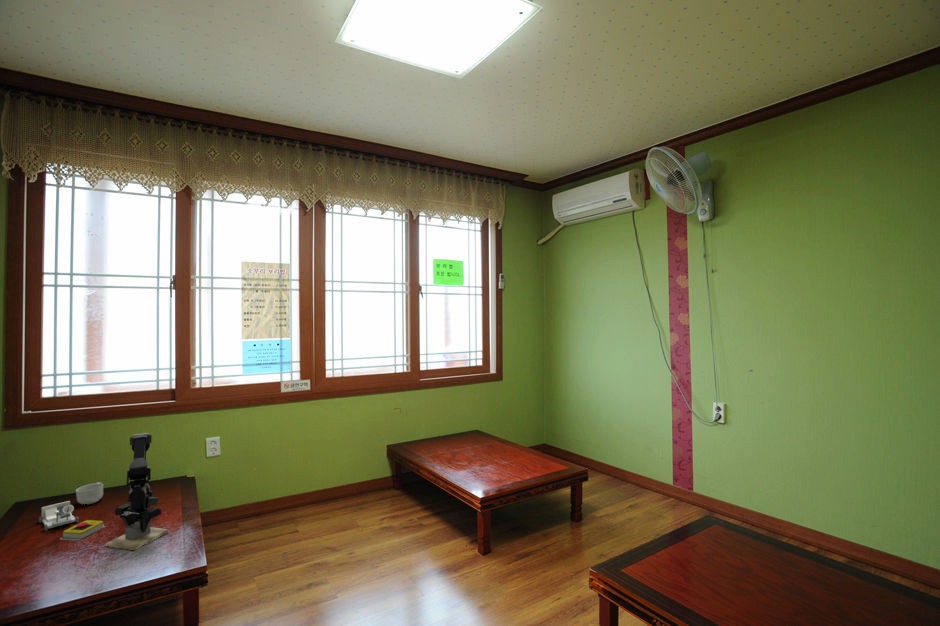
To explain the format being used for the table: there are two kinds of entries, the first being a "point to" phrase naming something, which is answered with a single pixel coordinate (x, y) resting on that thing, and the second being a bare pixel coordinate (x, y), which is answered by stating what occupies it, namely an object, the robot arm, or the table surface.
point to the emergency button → (82, 530)
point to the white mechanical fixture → (57, 515)
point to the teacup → (89, 493)
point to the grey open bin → (135, 532)
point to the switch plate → (132, 545)
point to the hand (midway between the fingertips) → (138, 531)
